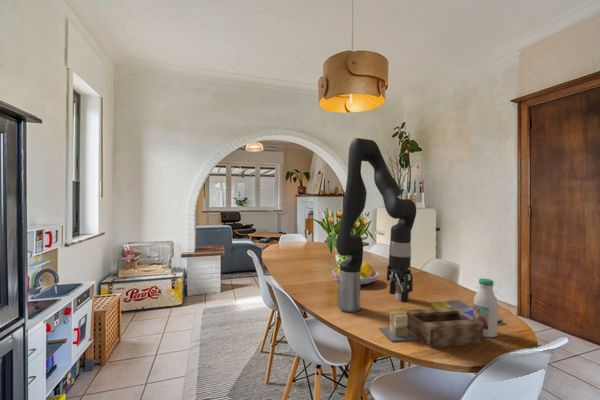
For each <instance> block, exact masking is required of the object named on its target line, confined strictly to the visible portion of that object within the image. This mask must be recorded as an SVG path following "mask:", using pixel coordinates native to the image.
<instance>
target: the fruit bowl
mask: <svg viewBox="0 0 600 400" xmlns="http://www.w3.org/2000/svg"><path fill="white" fill-rule="evenodd" d="M331 271H332V274H333V276H334V278H335V279H336V280H339V281H340V266H339V267H337V268H334V269H333V270H331ZM379 275H380V274H379V273H378V272H377V271H375V270H374V267H373V265H371V264H370V263H369V262H362V266H361V275H360V286H362V285H367V284H370V283H372V282H375V281H377V279H378V276H379Z"/></svg>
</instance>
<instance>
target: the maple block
mask: <svg viewBox="0 0 600 400" xmlns="http://www.w3.org/2000/svg"><path fill="white" fill-rule="evenodd" d="M407 321H408V316H407V314H405V313H404V312H403V311H401V310H400V311H390V312H389V327H390V332H391V333H393V334H394V335H395V336H407Z"/></svg>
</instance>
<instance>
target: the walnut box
mask: <svg viewBox="0 0 600 400" xmlns="http://www.w3.org/2000/svg"><path fill="white" fill-rule="evenodd" d="M406 315H407V316H408V321H407V329H408V330H409V331H410V332H411V333H412V334H414V335H415V336H416V337H417V338H418V340H421V342H423V343H424V344H425V345H427V347H429V348H430V349H431V348H442V347H443V348H444V347H454V346H466V345H478V344H483V343H484V341H483V340H484V336H483V323H482V322H480V321H478V320H476V319H469V318H467V317H466V316H464V315H462V314H460V311H459V310H458V309H456V308H454V307H451V308H421V309H420V308H419V309H418V308H417V309H416V308H415V309H407V310H406Z"/></svg>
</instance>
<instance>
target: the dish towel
mask: <svg viewBox="0 0 600 400" xmlns="http://www.w3.org/2000/svg"><path fill="white" fill-rule="evenodd" d="M430 307H431V309H434V308H451V307H454V308H456V309H458V310H459V311H460V314H462V315H464V316H466V317H467V318H469V319H473V307H474V305H473V306H472V305H470V304H467V303H466V302H464V301H462V300H460V299H452V300H445V301H435V302H432V303H431V305H430ZM503 322H504V319H503V318H501V317H499V316H498V323H497V327H498V326H505V323H503Z"/></svg>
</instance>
